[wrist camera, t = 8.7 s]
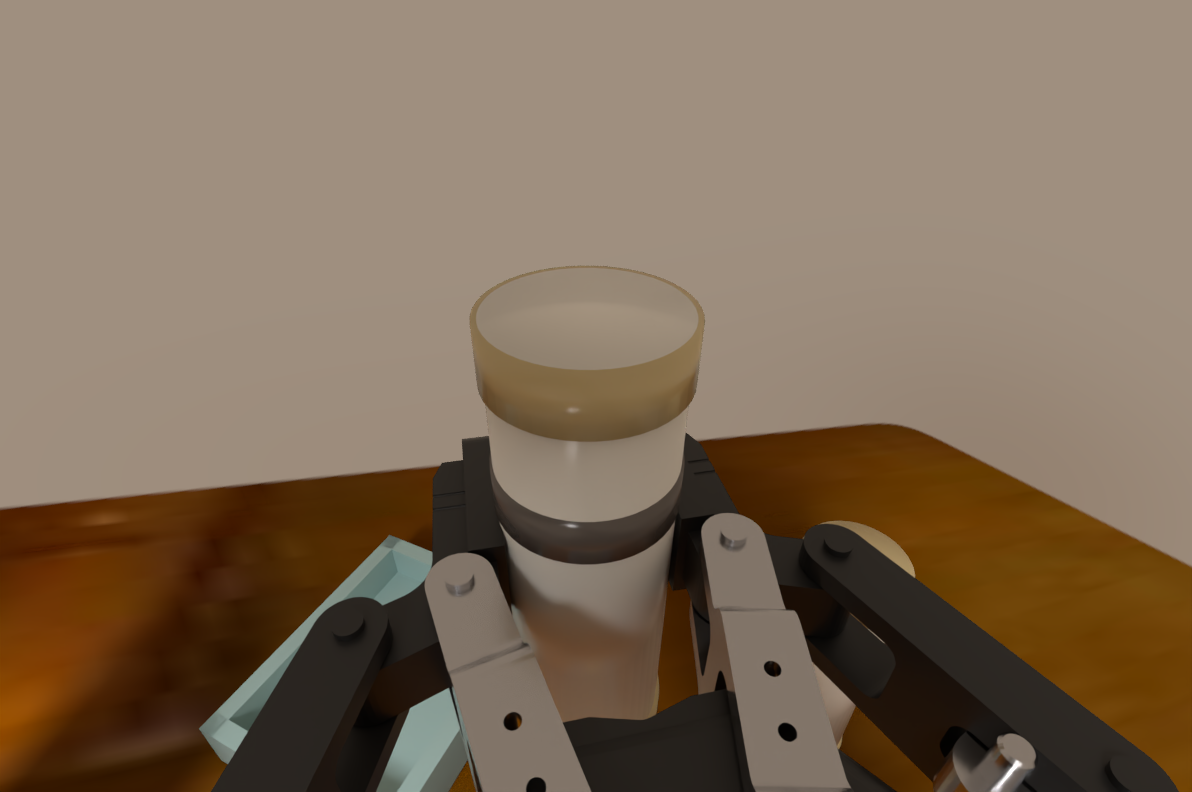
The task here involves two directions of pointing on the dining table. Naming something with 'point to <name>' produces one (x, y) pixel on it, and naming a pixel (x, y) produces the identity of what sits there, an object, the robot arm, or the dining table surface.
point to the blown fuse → (588, 469)
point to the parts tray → (431, 727)
